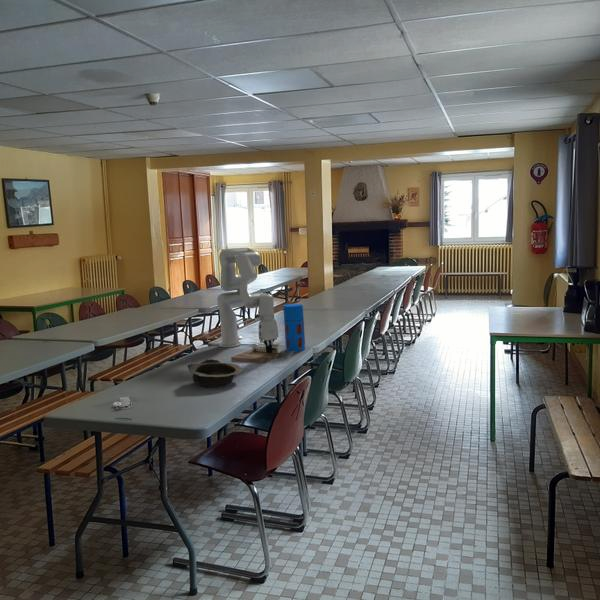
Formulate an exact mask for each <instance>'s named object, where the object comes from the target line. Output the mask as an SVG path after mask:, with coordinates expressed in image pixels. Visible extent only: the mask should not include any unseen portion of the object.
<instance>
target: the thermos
mask: <svg viewBox="0 0 600 600" xmlns="http://www.w3.org/2000/svg"><path fill="white" fill-rule="evenodd" d="M304 319H305V318H304V306H303V303H288V304H284V305H283V323H284V336H285V337H284V340H285V341H284V342H285V351H287V352H294V353H295V352H301V351H305V350H306V339H305V322H304V321H305V320H304Z"/></svg>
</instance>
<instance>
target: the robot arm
mask: <svg viewBox="0 0 600 600" xmlns="http://www.w3.org/2000/svg"><path fill="white" fill-rule="evenodd" d="M218 260H219V264H220V265H219V266H220V288H221V290H222V291H225V292H222V293H220V294H219V295H218V296H217V297H216V302H217V306H218V311H219V321H220V332H221V333H220V334H221V336H220V337H221V343H219V347H220V348H236V347H239V346H241V345H242V343H241V341H240V340H242V339H243V336H239V335H238V334H239V333H238V322H237V321H238V320H237V314H236V312H235V311H234V310H233V309H235V308H236V309H237V308H242V307H245V308H246V309H255V308H259V310H258V311H259V317H258V320H259V322H258V339H259V344H260V343H261V344H264V346H266V352H268V353H270V352H272V345H273V344H274V342H275V341H277V340H278V338H279V329H278V323H277V322H278V321H277V320H276V319H275V307H274V306H275V304H274V296H273V295H272V294H269V293H266V292H258V293H250V294H249V292H248V285H250V284H252V283H253V282H255V281H256V279H257V278H258V273H257V271H256V268H257V267H260V265H261V264H262V258H261V255H260V254H259V252H257V251H256V250H254V249H252V248H249V247H236V248H235V247H233V248H225V249H222V250H221V251H220V252H219V256H218ZM236 268H237V269H236ZM236 270H238V273H237V272H236Z"/></svg>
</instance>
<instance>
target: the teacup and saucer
mask: <svg viewBox="0 0 600 600" xmlns="http://www.w3.org/2000/svg"><path fill="white" fill-rule="evenodd" d="M130 403H131V399H129V396H122V397H120V401H115V402H113V403H112V406H113V407H114V406H121V405H122V406H123V407H122V406H121V407H122V408H125V407H124V406H128V407H129V404H130Z"/></svg>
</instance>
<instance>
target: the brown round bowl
mask: <svg viewBox="0 0 600 600" xmlns="http://www.w3.org/2000/svg"><path fill="white" fill-rule="evenodd" d="M187 369H188V372H189V373H191V374H192V381H193V382H194V383H197V384H199V386H200V387H203V388H215V387H225V386H227V385H229V384H231V383H232V382H233V380H234V378H235V377H236V375H239V374H240V373H242V371H243V367H241V366H239V365H238V364H235V363H231V362H221V361H219V360H217V359H206V360H204V361H201V362H200V363H197V362H196V363H190V364H188V365H187Z"/></svg>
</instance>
